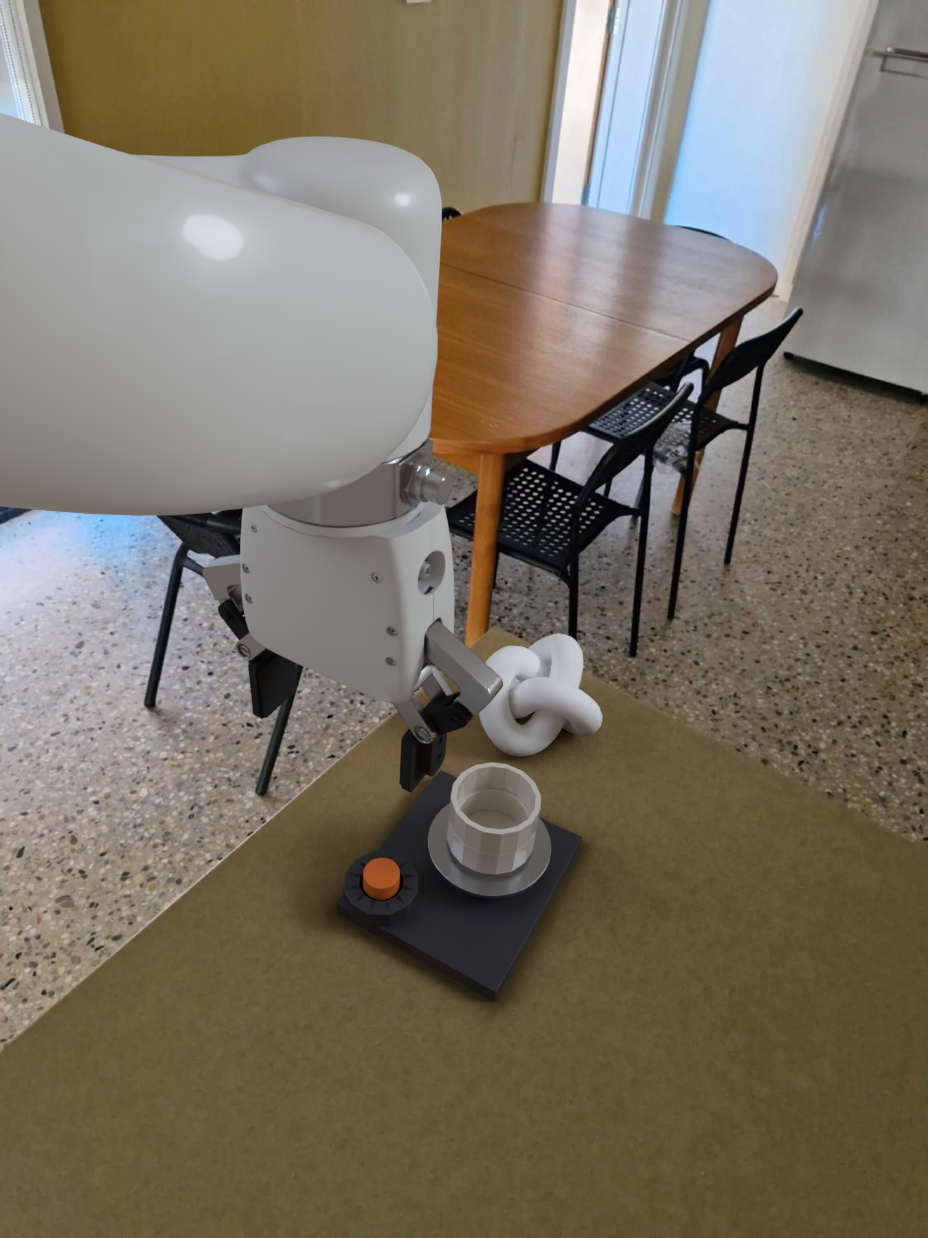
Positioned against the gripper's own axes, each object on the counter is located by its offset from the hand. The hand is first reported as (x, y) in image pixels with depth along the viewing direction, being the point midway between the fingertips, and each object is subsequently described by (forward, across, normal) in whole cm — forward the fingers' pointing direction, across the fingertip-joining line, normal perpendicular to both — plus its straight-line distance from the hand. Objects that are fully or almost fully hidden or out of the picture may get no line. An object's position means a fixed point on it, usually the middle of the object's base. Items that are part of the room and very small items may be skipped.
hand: (345, 737), depth 49 cm
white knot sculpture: (+26, 0, -30) cm, 40 cm away
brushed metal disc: (+23, -4, -14) cm, 27 cm away
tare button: (+23, +2, -7) cm, 24 cm away
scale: (+26, -3, -12) cm, 29 cm away
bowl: (+22, -4, -14) cm, 27 cm away
